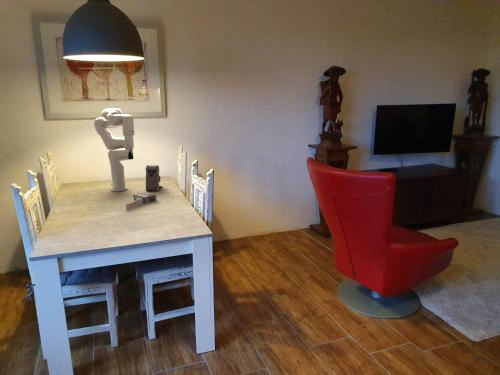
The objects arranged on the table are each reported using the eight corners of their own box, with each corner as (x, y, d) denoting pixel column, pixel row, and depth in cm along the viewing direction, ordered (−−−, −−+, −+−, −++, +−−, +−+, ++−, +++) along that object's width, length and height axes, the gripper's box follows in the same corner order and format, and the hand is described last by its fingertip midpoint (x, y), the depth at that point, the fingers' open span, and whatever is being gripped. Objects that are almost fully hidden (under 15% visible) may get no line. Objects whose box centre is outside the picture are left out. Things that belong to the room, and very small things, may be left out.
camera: (164, 191, 298) (164, 166, 298) (157, 191, 281) (157, 165, 281) (151, 191, 299) (151, 166, 299) (143, 191, 282) (143, 165, 282)
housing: (133, 201, 260) (133, 193, 258) (145, 197, 268) (144, 190, 266) (145, 204, 252) (145, 196, 251) (157, 200, 260) (156, 193, 259)
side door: (127, 211, 237) (127, 204, 236) (126, 211, 237) (125, 204, 236) (144, 203, 253) (143, 197, 252) (142, 203, 253) (142, 196, 252)
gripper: (125, 132, 268) (127, 157, 273) (121, 134, 254) (123, 161, 258) (135, 132, 269) (137, 157, 274) (132, 134, 255) (134, 160, 260)
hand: (131, 159), depth 266 cm, fingers closed
